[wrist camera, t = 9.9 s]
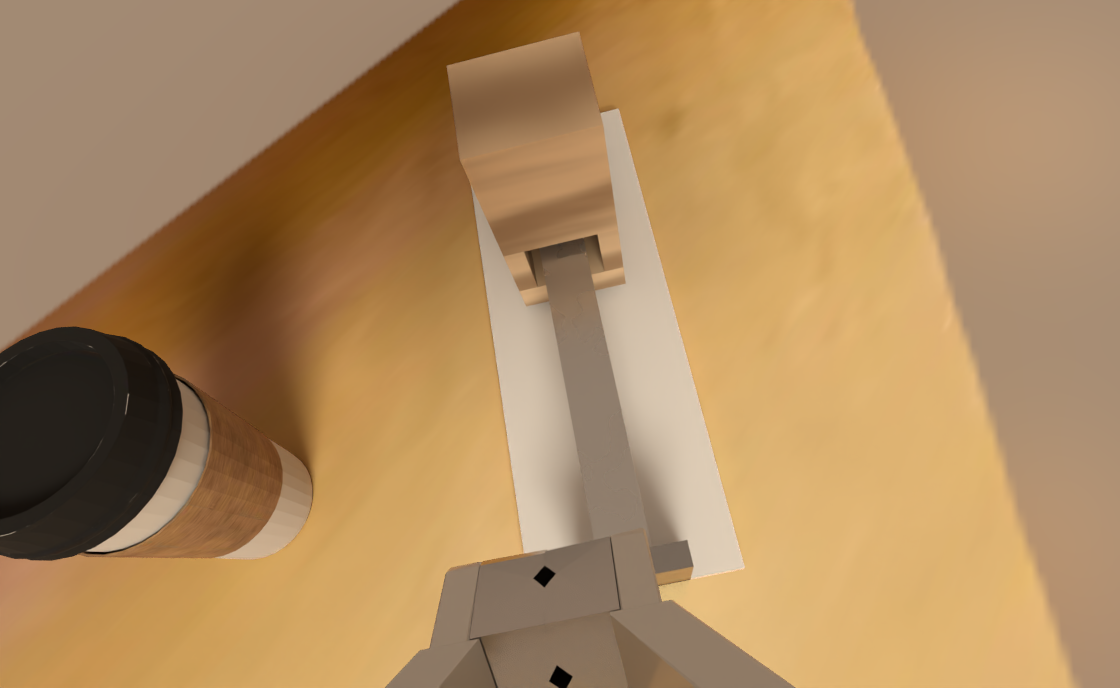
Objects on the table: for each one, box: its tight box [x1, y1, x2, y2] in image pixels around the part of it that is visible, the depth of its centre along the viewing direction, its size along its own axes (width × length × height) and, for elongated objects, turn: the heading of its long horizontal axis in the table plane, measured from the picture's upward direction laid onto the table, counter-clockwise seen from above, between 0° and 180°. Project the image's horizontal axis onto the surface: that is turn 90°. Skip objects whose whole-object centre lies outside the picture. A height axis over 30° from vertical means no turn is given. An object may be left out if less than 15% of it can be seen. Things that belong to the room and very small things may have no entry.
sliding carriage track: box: [539, 238, 694, 586], centre depth 35 cm, size 28×5×7 cm, turn 10°
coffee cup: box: [0, 327, 312, 560], centre depth 30 cm, size 8×8×15 cm
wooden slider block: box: [447, 32, 626, 306], centre depth 32 cm, size 5×6×13 cm
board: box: [471, 109, 745, 580], centre depth 37 cm, size 28×10×1 cm, turn 10°
